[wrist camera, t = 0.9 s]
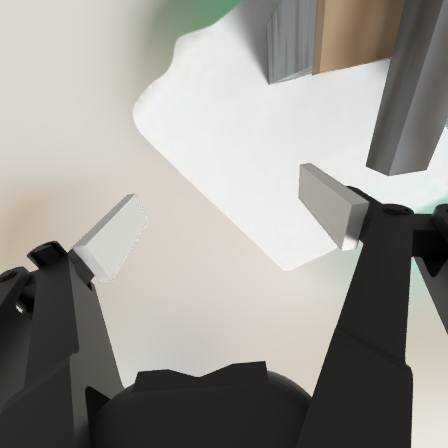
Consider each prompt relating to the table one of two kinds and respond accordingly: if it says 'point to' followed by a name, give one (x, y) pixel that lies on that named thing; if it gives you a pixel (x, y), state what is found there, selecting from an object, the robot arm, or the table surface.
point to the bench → (329, 35)
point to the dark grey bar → (413, 92)
